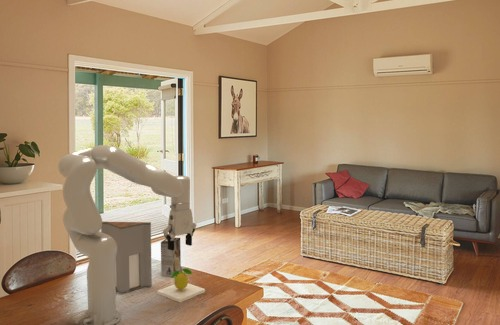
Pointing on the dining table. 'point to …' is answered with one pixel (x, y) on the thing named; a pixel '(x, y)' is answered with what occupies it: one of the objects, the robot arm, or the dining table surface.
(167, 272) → the coffee box
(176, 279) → the lemon
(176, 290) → the plate
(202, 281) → the dining table surface
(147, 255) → the cabinet
